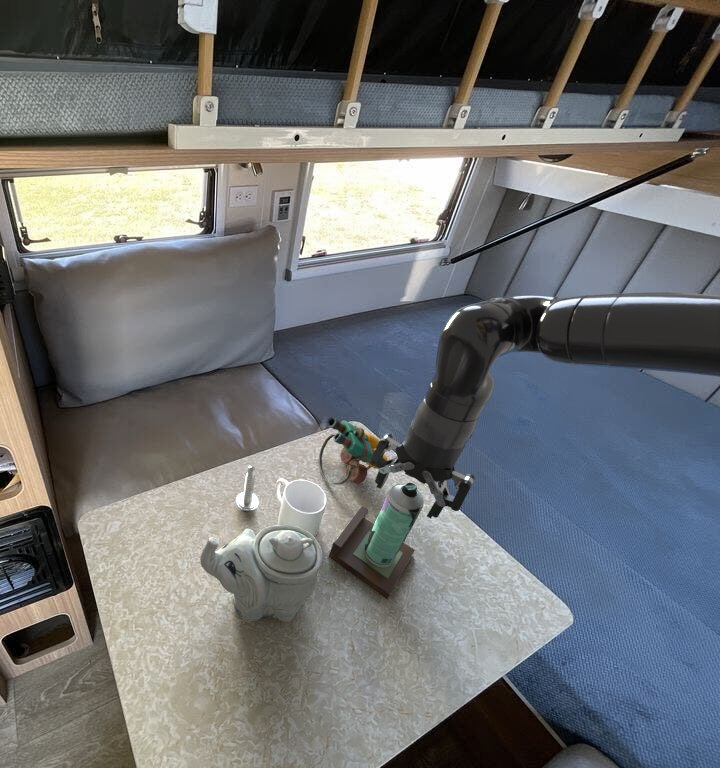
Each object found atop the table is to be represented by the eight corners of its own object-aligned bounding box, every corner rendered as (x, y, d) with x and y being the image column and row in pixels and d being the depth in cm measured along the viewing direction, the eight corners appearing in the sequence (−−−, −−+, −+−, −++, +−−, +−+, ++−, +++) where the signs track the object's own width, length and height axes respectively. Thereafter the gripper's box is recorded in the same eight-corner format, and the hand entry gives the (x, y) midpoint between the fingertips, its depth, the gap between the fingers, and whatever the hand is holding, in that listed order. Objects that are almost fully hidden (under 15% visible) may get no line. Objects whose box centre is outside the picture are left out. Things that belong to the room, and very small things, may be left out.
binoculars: (349, 503, 94) (399, 467, 86) (303, 482, 90) (352, 441, 82) (335, 459, 105) (378, 423, 98) (293, 437, 101) (335, 398, 93)
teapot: (196, 597, 73) (197, 536, 61) (244, 539, 82) (253, 478, 71) (273, 665, 64) (291, 610, 53) (318, 592, 74) (340, 533, 63)
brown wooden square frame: (411, 555, 80) (420, 541, 77) (386, 600, 73) (395, 586, 70) (356, 519, 87) (361, 504, 84) (328, 557, 79) (333, 542, 77)
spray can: (399, 557, 77) (436, 490, 66) (381, 572, 75) (417, 505, 63) (375, 536, 81) (407, 468, 69) (357, 550, 78) (387, 482, 67)
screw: (231, 503, 89) (249, 494, 91) (243, 519, 86) (261, 510, 88) (235, 463, 81) (254, 454, 83) (248, 479, 78) (268, 470, 80)
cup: (296, 551, 80) (304, 521, 74) (258, 508, 88) (263, 478, 82) (325, 532, 84) (335, 501, 78) (286, 492, 92) (293, 462, 86)
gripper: (381, 418, 60) (355, 488, 70) (486, 469, 53) (441, 540, 62) (401, 396, 65) (374, 465, 74) (500, 440, 57) (456, 510, 67)
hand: (404, 499), depth 68 cm, fingers open, 8 cm apart
